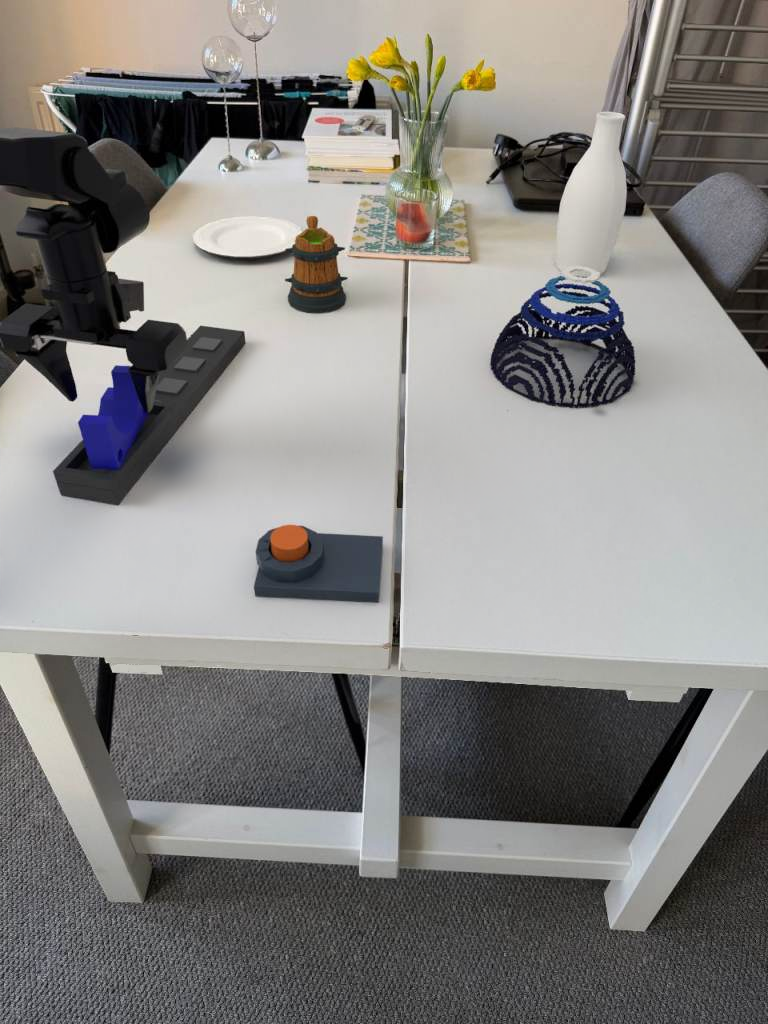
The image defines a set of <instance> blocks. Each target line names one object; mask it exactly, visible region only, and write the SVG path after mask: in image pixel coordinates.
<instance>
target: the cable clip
mask: <svg viewBox="0 0 768 1024" xmlns="http://www.w3.org/2000/svg"><path fill="white" fill-rule="evenodd" d="M131 366H132V365H119V364H118V365H116V364H115V365H114V366H113V368H112V369H111V371H110V374H111V379H112V386H111V387H110V386H108V387H107V388H106V390H105V391H104V393H103V395H102V396H101V397H100V402H99V408H98V413H97V414H82V415H81V417H80V418H79V420H78V421H77V424H78V429H79V431H80V434H81V438H82V440H83V442H84V445H85V449H86V452H87V455H88V459H89V462H90V466H91V469H111V470H119V468H120V466H121V464H122V463H123V461H124V459H125V457H126V455H127V453H128V451H129V449H130V447H131V446H132V444H133V442H134V440H135V438H136V436H137V434H138V432H139V430H140V429H141V427H142V425H143V423H144V421H145V419H146V417H147V415H148V413H145V411H144V410H143V408H142V406H141V404H140V401H139V399H138V396H137V393H136V390H135V388H134V385H133V382H132V380H131V377H130V374H129V371H128V369H129V368H130V367H131Z"/></svg>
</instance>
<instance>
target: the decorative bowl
mask: <svg viewBox="0 0 768 1024" xmlns="http://www.w3.org/2000/svg"><path fill="white" fill-rule="evenodd" d="M574 271H583V272H586V273H589V274H590V276H589V277H586V276H585V277H583V276H582V277H581V276H574V275H573V274H571V272H574ZM559 274H560V276H557V277H552V278H550V279H549V280H548V281H547V282H546V284H544V285H545V286H544V287H542V288H539V289H537V290H536V291H534V292H533V294H531V296H530V298H528V299H527V300H526V301H525V302H524V303H523V305H521V307H520V311H519V312H518V313H517V314H515V315H513V316H512V317H511V318H510V319H509V321H508V322H507V323H506V325H504V328H503V329H502V330H501V332H499V335H498V337H497V339H496V340H495V343H494V346H493V349H492V352H491V355H490V363H489V366H490V370H491V371H492V374H493V375H494V378H496V380H497V381H499V383H501V385H502V386H504V387H505V388H506V389H508V390H510V391H511V392H515V393H516V394H518V395H520V396H522V397H523V398H526V399H528V400H530V401H532V402H534V401H535V402H537V403H544V404H546V405H548V406H553V407H555V406H558V407H561V408H562V407H563V408H567V407H568V408H569V409H572V408H576V409H578V408H583V409H584V408H588V407H592V408H594V407H599V406H601V405H608V404H612V403H614V402H615V401H617V400H618V399H620V398H621V397H623V396H624V395H625V394H628V392H630V391H631V389H632V385H633V383H634V379H635V375H636V361H637V360H636V356H635V349H634V348H635V346H633V343H632V340H630V339H629V337H628V335H627V333H626V332H625V329H624V325H625V324H626V322H625V321H624V320H625V319H624V316H625V314H624V311H622V310H620V309H621V307H620V306H619V303H617V301H616V300H615V299H614V298H613V297H611V296H610V294H611V292H612V291H611V289H610V288H609V287H608V286H607V285H604V284H603V283H602V282H601V281H599V280H600V278H601V276H602V274H600V273H599V272H597V271H596V270H594V269H591V268H588V267H583V266H575V265H574V266H572V267H570V266H569V267H567V268H564V269H562V271H559ZM566 280H568V281H571V282H574V283H581V284H574V283H562V284H561V283H559V282H562V281H566ZM558 283H559V284H558ZM587 283H591V284H592V285H595V286H597V287H598V288H599V289H598V288H597V287H592V286H591V285H590V286H589V285H588V286H587V285H584V284H587ZM582 284H583V285H582ZM561 289H565V290H562V291H561ZM569 289H571V290H575V291H567V290H569ZM576 290H577V291H576ZM578 290H580V291H585V292H588V293H592V294H593V295H589V294H587V293H582V292H578ZM551 297H553V298H555V299H556V300H559V301H560V302H566V303H572V304H577V305H575V306H574V307H571V308H570V309H568V310H566V311H565V312H563V313H562V312H560V311H556V312H555V313H554V312H552V308H550V307H548V306H547V305H545V304H544V303H542V299H543V298H545V299H546V298H551ZM606 300H607V301H608V302H607V301H606ZM595 303H596V304H601V305H602V306H603V305H604V306H603V307H606V308H607V309H608V310H607V312H606V311H603V310H601V309H598V308H596V307H593V306H588V305H590V304H592V305H594V304H595ZM581 304H582V305H581ZM578 305H580V306H578ZM584 305H585V306H584ZM617 318H618V319H617ZM617 320H618V321H617ZM553 322H554V323H553ZM520 325H521V326H520ZM551 325H552V326H551ZM561 326H562V327H561ZM578 326H579V327H578ZM589 327H591V328H589ZM529 328H531V336H530V333H529V331H530V329H529ZM569 328H570V329H569ZM523 329H524V330H523ZM575 329H577V330H575ZM536 330H537V331H536ZM574 330H575V331H574ZM584 330H585V331H584ZM535 331H536V332H535ZM583 331H584V332H583ZM524 332H525V333H524ZM542 339H544V340H542ZM549 339H550V340H560V341H564V340H565V341H569V342H573V343H574V342H575V343H581V344H583V345H585V346H587V347H592V348H595V349H597V350H599V351H597V357H596V358H595V360H593V362H592V364H591V365H590V367H589V368H588V370H586V371H587V372H586V373H585V375H583V378H584V379H582V380H581V384H579V386H578V390H577V391H578V392H579V393H578V396H577V397H575V396H574V393H575V391H576V388H575V384H576V383H574V380H575V379H573V377H574V375H573V374H572V372H571V370H570V367H568V364H567V362H566V360H565V359H566V356H564V353H560V350H559V348H558V347H557V346H553V345H550V344H549V342H547V341H545V340H549ZM597 340H600V341H602V343H603V345H604V347H603V346H601V345H599V344H597V343H594V342H596V341H597ZM525 341H529V342H531V343H533V344H535V345H538V346H540V347H542V348H543V350H545V351H546V352H544V351H542V350H539V349H537V348H535V347H532V346H530V345H528V343H526V342H525ZM517 350H519V351H517ZM523 350H524V351H525V352H528V353H530V354H532V355H535V356H536V357H539V358H543V361H544V362H543V361H542V360H540V359H537V358H532V357H530V356H529V355H528V354H525V353H524V352H522V351H523ZM515 351H517V352H515ZM514 352H515V353H514ZM551 352H552V353H553V354H552V353H551ZM511 353H514V354H512V355H510V354H511ZM605 354H606V355H605ZM506 355H510V356H509V357H507V358H505V356H506ZM553 356H554V359H556V360H557V362H559V363H560V364H559V365H561V368H558V367H556V365H557V363H555V362H554V361H553ZM504 358H505V359H504ZM613 358H614V360H613ZM598 361H600V362H599V364H598V366H597V365H596V364H597V363H598ZM612 362H613V363H612ZM499 363H500V364H499ZM516 363H519V364H517V365H515V364H516ZM498 364H499V365H498ZM512 364H513V365H512ZM510 365H512V366H510ZM524 365H528V366H530V367H529V368H528V367H525V366H524ZM607 365H610V366H608V367H607V368H606V370H605V372H603V373H602V375H601V377H600V378H599V380H598V379H597V378H598V376H599V375H600V373H601V372H602V370H604V368H605V367H606V366H607ZM619 365H621V366H623V369H621V370H620V371H619V372H617V373H616V375H615V376H614V377H613V378H612V379H611V381H609V384H608V381H607V380H608V378H609V377H610V375H612V373H613V372H614V371H615V370H616V368H619ZM508 366H510V367H508ZM507 367H508V368H507ZM505 368H507V369H505ZM548 368H550V370H551V371H552V372H551V373H553V374H552V375H553V376H555V382H556V383H558V385H557V386H558V388H559V389H558V393H559V397H558V399H559V400H560V401H559V402H558V401H557V400H556V399H555V398H556V393H555V389H554V385H553V382H552V380H551V379H550V377H549V375H548V374H549V370H548ZM518 370H519V371H521V372H524V373H526V374H528V375H530V378H532V379H533V381H534V384H537V389H538V393H539V397H537V396H536V395H535V390H534V386H533V384H532V383H531V382H530V380H528V379H526V378H524V377H522V376H520V375H517V374H513V375H511V376H509V375H510V374H511V373H514V372H516V371H518ZM533 370H534V371H536V372H537V374H538V375H539V376H537V374H536V373H535V372H534V371H533ZM561 370H563V372H564V373H565V375H564V377H565V378H566V380H567V382H568V383H569V384H568V387H566V386H567V385H565V383H564V378H563V376H562V373H560V371H561ZM595 370H596V371H595ZM623 375H626V376H627V377H626V378H625V379H623V380H621V381H620V382H618V384H617V385H616V386H615V388H614V389H613V392H612V393H611V396H610V397H609V398H608V399H607V397H608V395H609V393H610V391H611V389H612V387H613V386H614V384H615V383H616V382H617V381H618V379H619V378H620V377H621V376H623ZM508 376H509V377H508ZM540 378H541V379H540ZM541 380H543V382H544V385H545V387H544V386H543V384H542V382H541ZM595 383H597V384H596V386H595V388H594V390H593V392H591V390H592V388H593V387H594V386H593V385H595ZM518 384H520V385H521V386H523V388H524V390H525V393H524V392H522V391H520V390H518V389H517V388H515V386H517V385H518ZM585 384H586V386H585V387H584V385H585ZM607 385H608V386H607ZM583 387H584V388H583ZM566 388H568V389H569V391H568V390H567V389H566ZM622 388H623V389H622ZM544 389H545V390H544ZM621 389H622V391H621ZM584 390H585V391H586V392H585V397H586V399H585V402H581V400H582V397H583V396H582V395H583V392H584ZM567 391H568V392H569V393H570V395H569V399H571V402H570V401H569V402H565V401H564V400H565V396H566V395H567ZM620 391H621V392H620ZM526 393H527V394H526ZM545 393H546V394H547V400H546V399H544V398H545ZM590 397H591V399H590ZM599 398H602V399H601V401H600V400H599ZM576 400H577V401H576ZM575 401H576V404H575ZM590 401H591V402H590ZM589 402H590V403H589Z"/></svg>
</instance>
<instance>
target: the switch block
mask: <svg viewBox="0 0 768 1024" xmlns="http://www.w3.org/2000/svg"><path fill="white" fill-rule="evenodd" d="M299 526H300V527H302V528H303V529H304V530H305V531H306V532H307V535H308V553H307V554H306V556H305V557H304V558H302V559H300V560H297V561H294V562H282V561H279V560H278V559H276V558H275V557H274V556H273V554H272V549H271V540H270V537H271V534H272V532H273V531H274V530H275V529H277V528H278V527H275V528H272V529H269V530H267V532H265V534H263V535H262V536H261V537H260V538H258V540H257V545H256V548H255V559H256V564H257V567H258V568H257V572H256V576H255V581H254V583H253V591H254V597H267V598H269V597H270V598H286V599H287V598H289V599H306V600H307V599H308V600H323V601H324V600H325V601H343V602H344V601H347V602H363V603H365V602H366V603H379V602H380V588H381V573H382V561H383V546H384V545H383V544H384V543H383V542H384V537H383V536H382V535H364V534H363V535H362V534H361V535H360V534H359V535H358V534H345V533H343V534H342V533H341V534H340V533H322V532H317V531H315V530H314V529H313V530H312V529H311V528H309V527H306V526H304V525H299Z"/></svg>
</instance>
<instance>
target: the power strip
mask: <svg viewBox="0 0 768 1024" xmlns="http://www.w3.org/2000/svg"><path fill="white" fill-rule="evenodd" d="M187 343H188V347H187V348H186V349H185V350H184V351H183V352H182V354H181V355H180V356H179V357H178V358H177V359H176V360H175V361H174V362H173V364H172V365H171V366H170V367H169V368H168V369H167V370H163V371H160V374H159V378H158V382H157V388H156V393H155V398H154V403H153V408H152V410H151V411H150V412H149V413H148V415H147V417H146V419H145V421H144V423H143V425H142V427H141V429H140V430H139V432H138V434H137V436H136V438H135V440H134V442H133V444H132V446H131V447H130V449H129V451H128V453H127V455H126V457H125V459H124V461H123V463H122V464H121V466H120V468H119V470H111V469H91V466H90V462H89V459H88V455H87V452H86V449H85V445H84V442H83V439H81V441H80V442H79V443H78V444H77V445H76V446H75V447H74V448H73V449H72V450H71V451H70V452H69V453H68V455H67V456H66V457H65V458H64V459H63V460H62V461H61V462H60V463H59V464H57V466H56V467H55V468H54V469H53V470H52V473H53V476H54V479H55V482H56V485H57V488H58V491H59V494H60V496H63V497H69V498H76V499H81V500H87V501H93V502H99V503H103V504H110V505H115V506H119V505H120V504H121V502H122V501H123V500H124V499H125V497H126V496H127V494H129V492H130V491H131V489H132V488H133V487H134V486H135V485H136V484H137V482H138V481H139V479H141V477H142V476H143V474H144V473H145V472H146V470H147V469H148V468H149V467H150V466H151V464H152V463H153V462H154V460H155V459H156V458H157V457H158V455H159V453H161V452H162V450H163V449H164V448H165V447H166V445H167V444H168V443H169V441H170V440H171V439H172V438H173V436H174V435H175V433H176V432H177V431H178V430H179V429H180V427H181V426H182V425H183V424H184V422H185V421H186V420H187V418H188V417H189V416H190V415H191V413H192V412H193V411H194V410H195V408H196V407H197V406H198V405H199V403H200V402H201V400H202V399H203V398H204V397H205V396H206V394H207V393H208V391H209V390H210V389H211V388H212V387H213V385H214V384H215V383H216V381H217V380H218V379H219V378H220V376H221V375H222V374H223V373H224V372H225V370H226V369H227V367H228V366H230V364H231V363H232V361H233V360H234V358H236V356H237V355H238V354H239V353H240V351H241V350H242V348H243V347H244V346H245V345H246V335H245V331H244V330H237V329H230V328H223V327H214V326H209V325H208V326H206V325H199V326H198V328H197V329H196V330H195V331H194V332H193V333H192V334H191V335H190V336H189V337H187Z"/></svg>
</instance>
